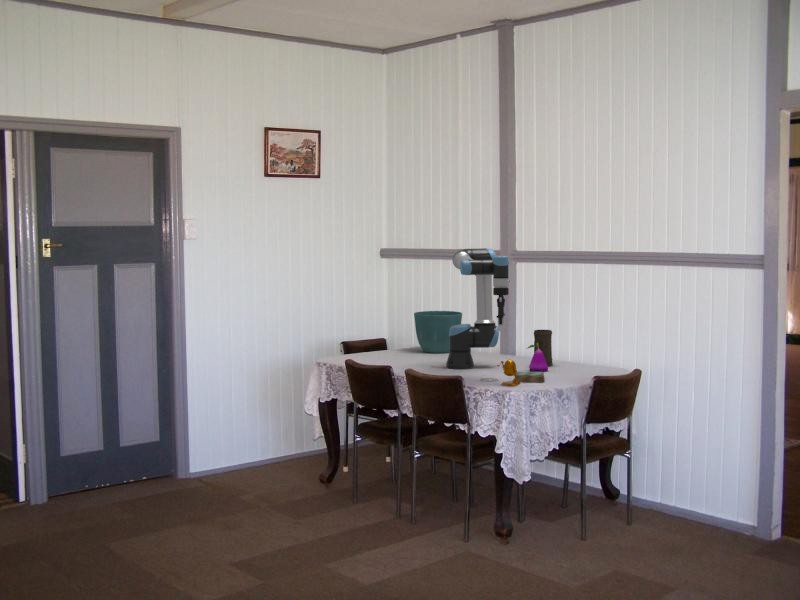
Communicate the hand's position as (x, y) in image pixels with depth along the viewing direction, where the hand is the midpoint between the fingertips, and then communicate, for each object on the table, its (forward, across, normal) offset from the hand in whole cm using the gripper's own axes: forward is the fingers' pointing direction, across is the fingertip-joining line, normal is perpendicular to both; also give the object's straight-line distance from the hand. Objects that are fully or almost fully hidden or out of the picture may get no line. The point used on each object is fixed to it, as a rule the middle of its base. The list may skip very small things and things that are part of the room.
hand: (501, 330), depth 445 cm
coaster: (+25, -2, +6) cm, 26 cm away
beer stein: (+24, +54, -22) cm, 63 cm away
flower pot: (+23, +108, +41) cm, 118 cm away
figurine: (+25, -14, -5) cm, 29 cm away
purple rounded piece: (+24, +32, -19) cm, 45 cm away
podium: (+25, 0, -14) cm, 28 cm away
